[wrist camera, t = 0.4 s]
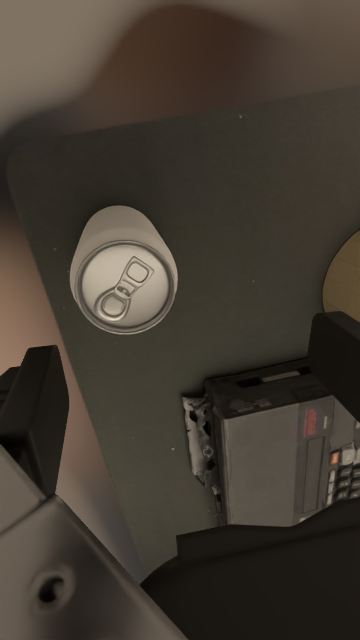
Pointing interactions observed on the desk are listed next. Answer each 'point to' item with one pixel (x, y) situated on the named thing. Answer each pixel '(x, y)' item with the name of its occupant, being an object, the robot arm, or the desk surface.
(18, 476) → the robot arm
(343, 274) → the tan round bowl
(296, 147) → the desk surface
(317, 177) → the desk surface
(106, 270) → the can
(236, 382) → the vintage computer
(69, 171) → the desk surface
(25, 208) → the desk surface
